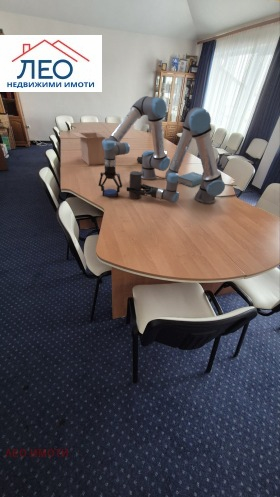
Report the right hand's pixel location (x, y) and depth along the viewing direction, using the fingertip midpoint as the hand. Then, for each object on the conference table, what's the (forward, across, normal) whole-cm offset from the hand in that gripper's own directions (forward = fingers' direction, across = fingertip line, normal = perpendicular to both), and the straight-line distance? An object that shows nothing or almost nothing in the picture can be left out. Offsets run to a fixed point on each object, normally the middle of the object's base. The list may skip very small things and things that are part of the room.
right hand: (129, 186), depth 167 cm
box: (+73, +60, -6) cm, 94 cm away
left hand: (+11, -9, -6) cm, 16 cm away
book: (-36, +57, -6) cm, 68 cm away
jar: (-5, 0, -6) cm, 8 cm away
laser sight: (+21, +86, -6) cm, 89 cm away
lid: (+11, -9, -3) cm, 15 cm away
